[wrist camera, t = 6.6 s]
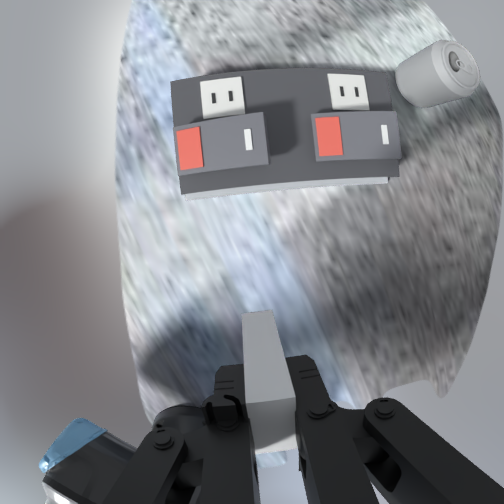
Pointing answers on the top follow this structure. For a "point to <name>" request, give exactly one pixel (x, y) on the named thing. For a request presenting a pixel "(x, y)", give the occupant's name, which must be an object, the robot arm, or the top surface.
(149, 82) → the top surface
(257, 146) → the block
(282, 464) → the top surface
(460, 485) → the robot arm
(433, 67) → the can
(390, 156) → the rocker
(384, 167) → the power strip
